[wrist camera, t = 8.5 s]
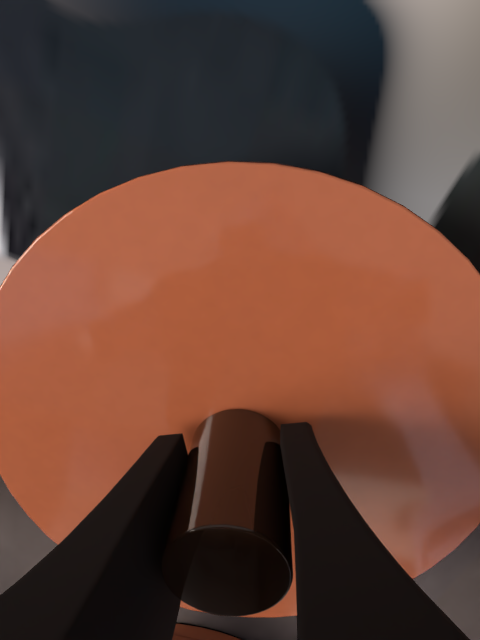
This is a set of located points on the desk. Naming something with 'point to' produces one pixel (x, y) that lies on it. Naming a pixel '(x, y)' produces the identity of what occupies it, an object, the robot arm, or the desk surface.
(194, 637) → the pot
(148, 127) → the desk surface
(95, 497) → the pot lid
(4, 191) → the desk surface
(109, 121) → the desk surface
